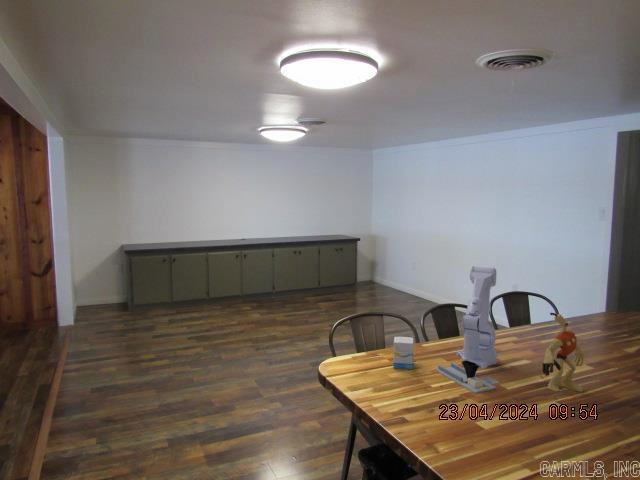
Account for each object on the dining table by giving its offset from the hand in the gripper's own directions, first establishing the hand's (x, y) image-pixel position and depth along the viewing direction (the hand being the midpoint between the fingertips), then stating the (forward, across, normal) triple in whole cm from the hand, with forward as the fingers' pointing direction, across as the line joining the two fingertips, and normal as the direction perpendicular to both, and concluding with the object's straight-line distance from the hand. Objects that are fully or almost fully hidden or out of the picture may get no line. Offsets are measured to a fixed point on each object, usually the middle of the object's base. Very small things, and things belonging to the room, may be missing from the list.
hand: (470, 379), depth 171 cm
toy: (+3, +18, +27) cm, 32 cm away
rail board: (+3, -4, 0) cm, 4 cm away
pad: (+3, +2, +8) cm, 9 cm away
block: (+1, +1, 0) cm, 1 cm away
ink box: (+3, -28, -12) cm, 31 cm away
